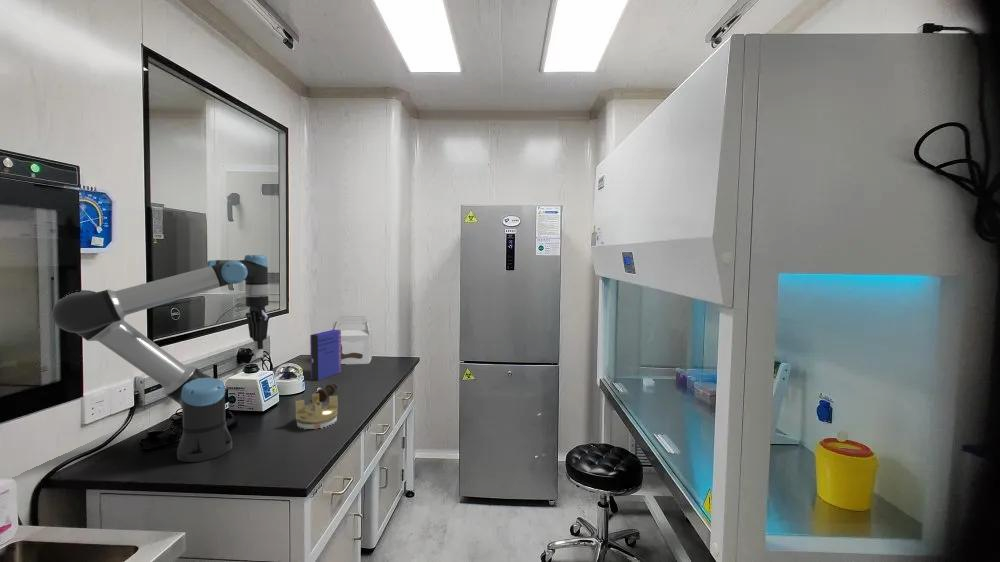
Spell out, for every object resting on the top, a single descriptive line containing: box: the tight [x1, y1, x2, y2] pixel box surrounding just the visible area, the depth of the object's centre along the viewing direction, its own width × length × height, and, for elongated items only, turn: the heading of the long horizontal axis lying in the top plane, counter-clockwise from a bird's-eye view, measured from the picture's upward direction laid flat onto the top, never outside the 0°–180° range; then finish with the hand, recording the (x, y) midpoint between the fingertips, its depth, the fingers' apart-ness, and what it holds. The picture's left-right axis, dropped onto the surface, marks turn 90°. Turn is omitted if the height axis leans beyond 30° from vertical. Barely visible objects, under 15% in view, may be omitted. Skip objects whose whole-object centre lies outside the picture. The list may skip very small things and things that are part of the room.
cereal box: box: [309, 329, 342, 382], centre depth 231 cm, size 17×5×24 cm, turn 160°
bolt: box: [315, 383, 338, 402], centre depth 200 cm, size 6×5×15 cm
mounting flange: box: [296, 416, 338, 430], centre depth 168 cm, size 14×14×2 cm
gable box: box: [332, 315, 373, 365], centre depth 263 cm, size 22×13×28 cm, turn 101°
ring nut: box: [295, 392, 339, 424], centre depth 168 cm, size 15×15×7 cm
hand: (258, 357), depth 164 cm, fingers closed
